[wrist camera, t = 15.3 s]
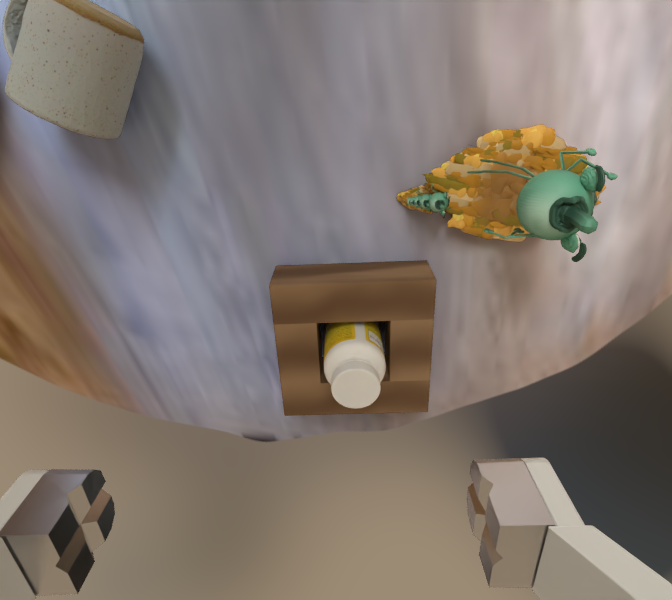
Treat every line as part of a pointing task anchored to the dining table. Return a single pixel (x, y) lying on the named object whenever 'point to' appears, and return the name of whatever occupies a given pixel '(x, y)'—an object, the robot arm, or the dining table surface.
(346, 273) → the socket block
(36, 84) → the ceramic mug
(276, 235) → the dining table surface
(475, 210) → the green creature figurine
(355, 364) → the supplement bottle
